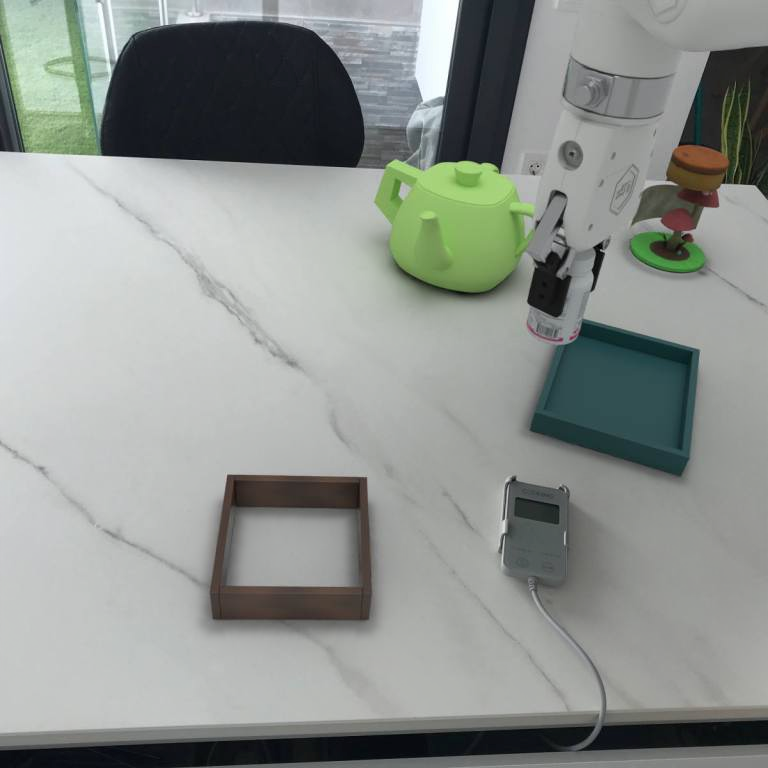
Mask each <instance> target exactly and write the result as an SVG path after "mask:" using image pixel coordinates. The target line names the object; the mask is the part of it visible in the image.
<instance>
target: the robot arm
mask: <svg viewBox="0 0 768 768" xmlns="http://www.w3.org/2000/svg"><path fill="white" fill-rule="evenodd" d="M757 47H758V48H759V47H768V0H581V2H580V6H579V11H578V15H577V20H576V24H575V29H574V33H573V38H572V43H571V48H570V53H569V56H568V61H567V66H566V70H565V75H564V80H563V85H562V88H561V93H560V97H559V103H560V105H561V106H562V107H563V108H562V109H561V113H560V116H559V118H558V121H557V124H556V127H555V130H554V133H553V136H552V139H551V142H550V146H549V148H548V149H549V150H548V152H547V156H546V159H545V163H544V166H543V170H542V173H541V177H540V181H539V185H538V189H537V193H536V198H535V202H534V205H535V207H534V213H533V218H532V222H531V223H532V224H531V225H532V228H533V230H534V234H533V236H532V238H531V240H530V242H529V243H528V245H527V248H526V252H525V253H526V254H527V255H528V256H530V257H531V258H532V260H533V261H532V267H534V269H533V272H532V277H531V282H530V286H529V290H528V294H527V299H526V302H527V304H528V305H529V307H530V306H532V307H534V308H536V309H538V310H540V311H542V312H544V313H546V314H548V315H550V316H552V317H555V318H557V317H559V316H560V315H561V314H562V312H563V308H564V305H565V301H566V297H567V293H568V290H569V286H570V282H571V279H572V276H570V275H568V272H569V270H570V267H571V265H572V262H573V259H574V257H575V254H576V252H577V251H578V252H583V251H586V250H588V249H590V248H592V247H593V249H594V250H595V253H596V255H595V260H594V265H593V268H592V270H591V271H592V273H593V284H592V287H591V291H590V294H591V293H593V292H594V291H595V289H596V286H597V283H598V279H599V276H600V273H601V270H602V266H603V262H604V260H605V256H606V250H607V249H608V248H609V246H610V243H611V240H612V235H614V234H616V233H617V232H618V231H620V230H621V229H622V228H623V227H625V226H626V225H628V224H629V223H630V222H632V220H633V218H634V216H635V215H636V213H637V210H638V207H639V204H640V200H641V196H642V193H643V191H644V190H645V184H646V181H647V177H648V173H649V170H650V165H651V161H652V157H653V154H654V148H655V145H656V141H657V140H656V139H657V134H658V129H659V123H660V121H662V119H663V115H664V114H665V109H666V107H667V103H668V99H669V96H670V93H671V89H672V86H673V83H674V81H675V80H674V79H675V76H676V73H677V70H678V67H679V64H680V61H681V58H682V54H683V52H690V53H707V52H717V51H731V50H738V49H745V48H757ZM560 229H562V230H563V231H564V234H563V233H561V232H559V231H560ZM553 242H554V243H557V244H559V245H561V246H564V247H566V248H565V251H564V253H563V256H562V259H561V258H560V257H559V255H558V253H556V252H554V251H553V250H552V248H551V245H552V243H553ZM604 251H605V252H604Z"/></svg>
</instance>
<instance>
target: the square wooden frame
mask: <svg viewBox="0 0 768 768" xmlns="http://www.w3.org/2000/svg"><path fill="white" fill-rule="evenodd" d="M368 488H369V487H368V477H367V476H338V475H337V476H336V475H335V476H332V475H331V476H327V475H281V474H279V475H278V474H277V475H276V474H231V473H230V474H227V475H226V479H225V487H224V494H223V500H222V506H221V513H220V521H219V526H218V527H219V528H218V534H217V541H216V548H215V554H214V559H213V567H212V575H211V582H210V588H209V599H210V609H211V617H212V619H213V620H309V621H310V620H312V621H313V620H322V621H325V620H326V621H328V620H330V621H332V620H335V621H336V620H337V621H338V620H339V621H343V620H344V621H345V620H347V621H350V620H351V621H352V620H353V621H356V620H357V621H360V620H361V621H363V620H364V621H369V620H370V614H371V605H372V596H373V589H372V587H373V586H372V564H371V563H372V562H371V542H370V541H371V540H370V539H371V538H370V537H371V536H370V516H369V513H370V512H369V490H368ZM237 507H252V508H253V507H254V508H256V507H258V508H259V507H260V508H262V507H263V508H265V507H266V508H314V509H315V508H316V509H318V508H320V509H356V511H357V542H358V544H357V547H358V548H357V549H358V578H359V579H358V582H359V586H300V585H299V586H291V585H290V586H288V585H286V586H283V585H281V586H280V585H278V586H277V585H274V586H273V585H227V579H228V572H229V571H228V570H229V563H230V557H231V556H230V555H231V549H232V548H231V547H232V539H233V532H234V526H235V517H236V509H237Z"/></svg>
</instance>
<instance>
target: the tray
mask: <svg viewBox="0 0 768 768" xmlns="http://www.w3.org/2000/svg"><path fill="white" fill-rule="evenodd" d="M556 346H557V347H556V350H555V352H554V355H553V357H552V361H551V364H550V367H549V369H548V372H547V376H546V378H545V381H544V384H543V387H542V390H541V392H540V396H539V398H538V402H537V404H536V407H535V410H534V413H533V417H532V420H531V424H530V427H529V431H531V432H535V433H538V434H541V435H544V436H547V437H551V438H554V439H557V440H561V441H565V442H567V443H571V444H574V445H578V446H580V447H583V448H587V449H590V450H594V451H597V452H601V453H603V454H607V455H611V456H613V457H617V458H619V459H623V460H627V461H630V462H632V463H633V462H634V463H636V464H640V465H643V466H646V467H649V468H653V469H656V470H659V471H663V472H666V473H669V474H672V475H676V476H679V477H682V475H683V474H684V471H685V469H686V467H687V465H688V463H689V460H690V458H691V446H692V437H693V427H694V416H695V414H694V413H695V407H696V406H695V405H696V397H697V385H698V374H699V365H700V354H701V349H699V348H695V347H691V346H689V345H684V344H680V343H676V342H673V341H670V340H666V339H662V338H658V337H654V336H650V335H646V334H643V333H639V332H635V331H632V330H628V329H623V328H622V327H621V328H620V327H617V326H613V325H609V324H605V323H602V322H598V321H595V320H594V321H593V320H590V319H586V318H583V320H582V324H581V327H580V331H579V334H578V336H577V338H576V339H575V340H574V341H573V342H571V343H568V344H564V345H556Z"/></svg>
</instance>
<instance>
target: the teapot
mask: <svg viewBox="0 0 768 768" xmlns="http://www.w3.org/2000/svg"><path fill="white" fill-rule="evenodd" d="M383 171H384V172H383V175H382V178H381V180H380V183H379V186H378V189H377V192H376V195H375V198H374V201H373V203H374V205H376V207H377V208H378V209H379V210H380V212H381V213H382V214H383V216H384V217H385V218H386V219H387V220H388V222H389V223H390V225H391V230H390V234H389V242H388V246H389V250H390V253H391V255H392V257H393V258H394V260H395V262H396V263H397V265H398V266H399V267H400V268H401V269H402V270H403V271H404V272H406V273H407V274H409V275H410V276H412V277H414V278H416V279H418V280H420V281H422V282H425V283H426V284H430V285H432V286H436V287H439V288H443V289H446V290H452V291H457V292H463V293H484V292H488V291H490V290H493V289H494V288H495V287H497V286H498V285H499V284H501V282H503V281H504V280H505V279H506V278H507V277H508V276H509V275H510V274H512V273H513V271H514V270H515V269H516V267H517V266H518V264H519V262H520V260H521V258H522V256H523V254H525V253H526V248H527V245H528V243H529V242H530V240H531V238H532V236H533V234H534V230H533V227H532V228H531V230H530V231H529V233H528V234H527V235H526V225H525V224H526V223H525V216H527V217H530V218H531V219H533V213H534V207H535V203H528V202H521V199H520V195H519V193H518V190H517V187H516V185H515V183H514V182H513V181H512V180H511V179H510V178H509V177H507V176H505V175H503V174H501V173H500V169H499V168H498V167H497V166H496V165H495V164H492V163H489V162H483V163H478V162H474V161H470V160H460V161H458V162H454V161H453V162H452V161H450V162H449V161H447V162H439V163H437V164H434V165H432V166H431V167H429V168H428V169H426V170H425V171H424V170H422V169H419V168H417V167H415V166H412V165H410V164H408V163H407V162H406V163H405V162H403V161H401V160H399V159H397V158H395V159H393V160H392V161H391V162H389V163H388V164H386V165H385V169H384V170H383ZM402 183H403V184H405V185H407V186H409V187H410V190H409V191H408V192H407V195H406V196H405V198H404V199H402V197H401V196H400V195H399V194H400V190H401V186H402Z"/></svg>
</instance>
